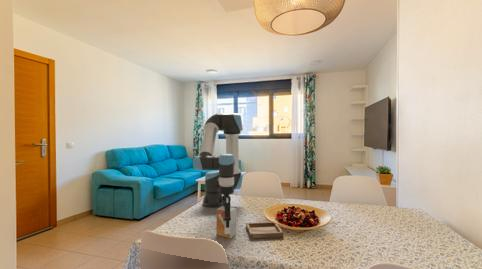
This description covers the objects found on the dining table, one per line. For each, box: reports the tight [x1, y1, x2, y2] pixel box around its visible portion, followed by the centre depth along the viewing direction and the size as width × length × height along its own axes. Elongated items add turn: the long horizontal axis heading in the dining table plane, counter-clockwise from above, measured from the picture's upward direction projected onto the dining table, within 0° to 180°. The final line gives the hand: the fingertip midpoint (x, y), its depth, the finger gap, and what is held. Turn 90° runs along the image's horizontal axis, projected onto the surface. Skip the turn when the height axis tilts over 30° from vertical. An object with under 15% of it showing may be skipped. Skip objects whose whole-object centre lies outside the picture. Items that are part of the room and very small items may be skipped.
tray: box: [245, 221, 284, 241], centre depth 118 cm, size 14×16×2 cm
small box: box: [216, 205, 237, 239], centre depth 115 cm, size 8×6×13 cm
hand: (226, 228), depth 115 cm, fingers open, 12 cm apart
